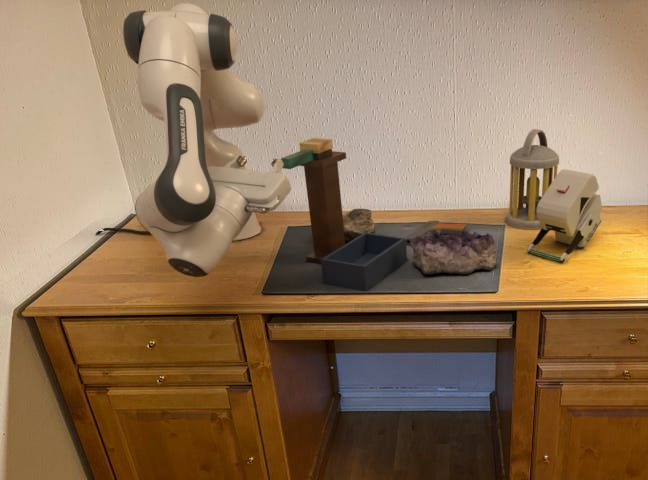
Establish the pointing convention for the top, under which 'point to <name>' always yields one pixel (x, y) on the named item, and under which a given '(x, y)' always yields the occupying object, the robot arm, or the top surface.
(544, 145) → the lantern
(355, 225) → the stone
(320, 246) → the stand
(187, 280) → the top surface
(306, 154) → the brush
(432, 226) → the handgun
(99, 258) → the top surface
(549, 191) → the robotic device
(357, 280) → the desk bin
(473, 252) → the geode
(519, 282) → the top surface
